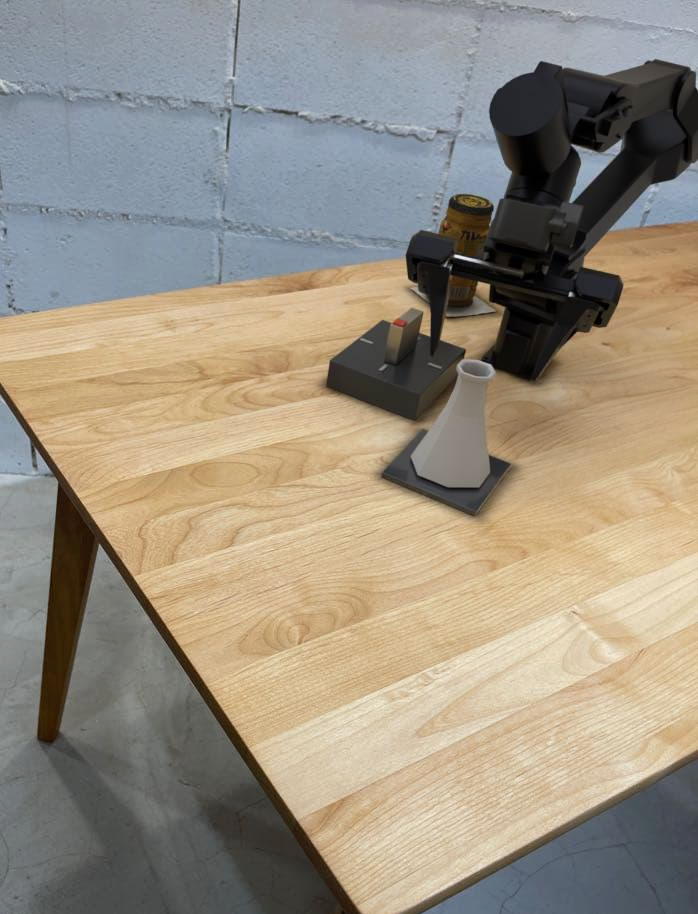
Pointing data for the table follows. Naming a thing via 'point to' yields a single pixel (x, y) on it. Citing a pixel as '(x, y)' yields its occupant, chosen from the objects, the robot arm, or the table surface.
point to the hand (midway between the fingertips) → (481, 368)
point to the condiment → (466, 249)
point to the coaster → (456, 497)
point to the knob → (403, 336)
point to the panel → (394, 372)
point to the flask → (459, 432)
